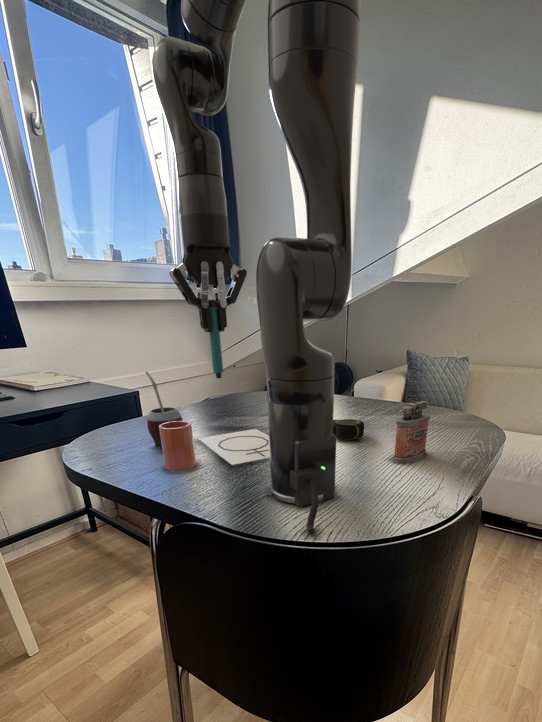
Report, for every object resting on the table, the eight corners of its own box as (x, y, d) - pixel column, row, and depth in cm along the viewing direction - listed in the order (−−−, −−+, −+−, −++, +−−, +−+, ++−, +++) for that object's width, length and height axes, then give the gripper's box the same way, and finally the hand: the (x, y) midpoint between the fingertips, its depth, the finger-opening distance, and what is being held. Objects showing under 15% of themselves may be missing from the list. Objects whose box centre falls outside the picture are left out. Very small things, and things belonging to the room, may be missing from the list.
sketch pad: (299, 453, 80) (299, 450, 79) (232, 467, 74) (231, 464, 73) (255, 430, 96) (255, 428, 95) (198, 440, 90) (197, 437, 90)
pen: (225, 378, 76) (218, 300, 70) (215, 379, 75) (207, 300, 70) (222, 377, 77) (214, 300, 72) (212, 378, 76) (204, 300, 71)
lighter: (404, 464, 72) (409, 408, 68) (388, 460, 75) (392, 405, 70) (429, 454, 77) (436, 400, 73) (414, 450, 79) (419, 398, 75)
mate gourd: (178, 454, 82) (167, 376, 75) (141, 453, 83) (128, 376, 77) (191, 443, 88) (182, 371, 82) (157, 442, 90) (146, 371, 83)
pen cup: (199, 469, 73) (194, 425, 70) (170, 475, 71) (163, 430, 68) (191, 460, 78) (185, 419, 74) (162, 466, 76) (155, 423, 72)
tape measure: (361, 433, 91) (362, 417, 89) (365, 442, 85) (366, 425, 83) (330, 434, 91) (330, 417, 90) (332, 443, 85) (332, 425, 83)
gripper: (166, 206, 60) (182, 334, 67) (252, 213, 65) (258, 330, 72) (155, 217, 66) (171, 333, 73) (235, 222, 71) (242, 329, 79)
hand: (214, 331), depth 73 cm, fingers closed on pen, 2 cm apart
